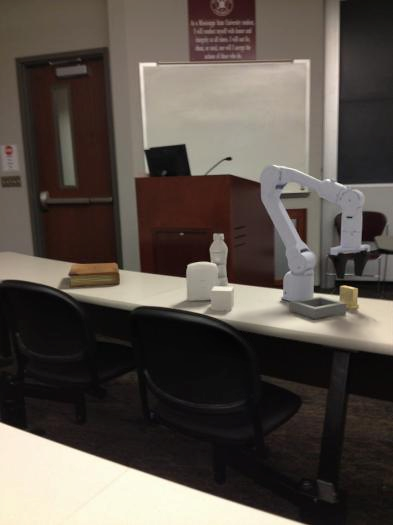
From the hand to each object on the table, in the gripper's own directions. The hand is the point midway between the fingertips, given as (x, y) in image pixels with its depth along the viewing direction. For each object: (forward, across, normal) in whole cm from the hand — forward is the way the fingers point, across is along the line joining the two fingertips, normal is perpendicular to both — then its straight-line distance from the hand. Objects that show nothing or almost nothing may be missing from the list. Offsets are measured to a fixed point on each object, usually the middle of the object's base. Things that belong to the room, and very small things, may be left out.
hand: (349, 277), depth 131 cm
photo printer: (+9, -32, +31) cm, 46 cm away
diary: (+9, -52, +82) cm, 98 cm away
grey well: (+9, -12, 0) cm, 15 cm away
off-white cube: (+9, -32, +19) cm, 39 cm away
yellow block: (+9, 0, 0) cm, 9 cm away
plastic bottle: (+9, -20, +40) cm, 46 cm away
